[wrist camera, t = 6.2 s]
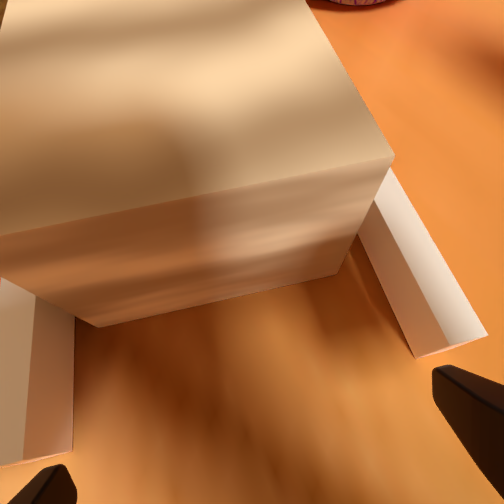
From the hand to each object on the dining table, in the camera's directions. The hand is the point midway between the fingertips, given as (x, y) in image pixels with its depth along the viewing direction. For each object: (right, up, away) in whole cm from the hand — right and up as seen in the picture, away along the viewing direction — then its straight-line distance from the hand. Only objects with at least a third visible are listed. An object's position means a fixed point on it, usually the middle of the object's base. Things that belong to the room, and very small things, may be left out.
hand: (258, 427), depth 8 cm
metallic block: (-3, +9, +12) cm, 15 cm away
